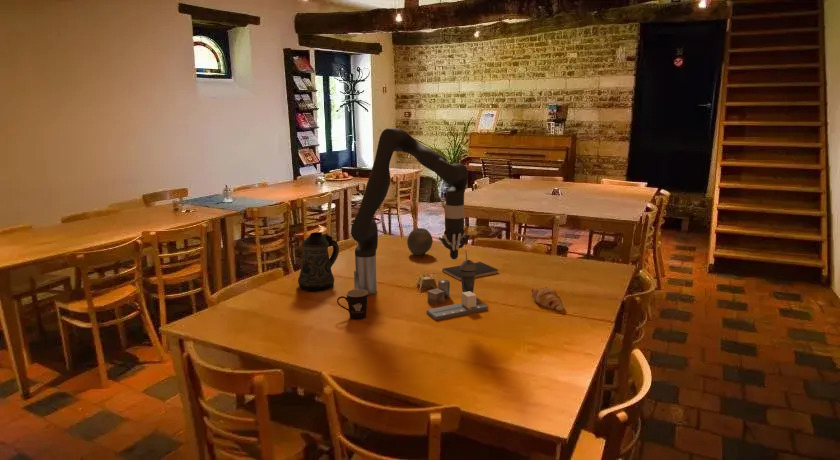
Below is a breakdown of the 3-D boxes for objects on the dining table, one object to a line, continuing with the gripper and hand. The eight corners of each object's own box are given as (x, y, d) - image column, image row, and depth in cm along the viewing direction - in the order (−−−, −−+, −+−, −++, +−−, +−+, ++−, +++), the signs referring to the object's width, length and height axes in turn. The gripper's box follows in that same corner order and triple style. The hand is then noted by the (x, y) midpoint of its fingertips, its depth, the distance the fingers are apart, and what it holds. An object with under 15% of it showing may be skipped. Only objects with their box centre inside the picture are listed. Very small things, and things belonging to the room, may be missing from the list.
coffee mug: (372, 314, 212) (372, 290, 209) (363, 322, 204) (362, 298, 201) (346, 310, 215) (345, 287, 213) (336, 318, 207) (335, 294, 205)
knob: (467, 308, 213) (467, 296, 212) (461, 304, 217) (461, 292, 216) (476, 306, 215) (476, 294, 213) (469, 302, 219) (469, 291, 218)
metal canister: (441, 299, 227) (441, 284, 225) (436, 295, 231) (436, 280, 230) (451, 297, 229) (451, 282, 227) (445, 294, 233) (446, 279, 232)
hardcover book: (498, 274, 262) (498, 269, 261) (459, 281, 251) (459, 277, 250) (479, 265, 275) (479, 261, 275) (442, 272, 264) (442, 268, 264)
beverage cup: (475, 297, 229) (476, 253, 224) (458, 296, 230) (459, 252, 226) (476, 291, 236) (477, 248, 231) (460, 290, 237) (461, 248, 233)
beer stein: (291, 289, 239) (287, 236, 233) (314, 276, 257) (312, 226, 251) (322, 294, 233) (319, 239, 227) (344, 280, 251) (342, 229, 245)
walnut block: (435, 305, 221) (435, 294, 220) (427, 302, 224) (427, 290, 223) (444, 302, 224) (444, 291, 223) (436, 299, 228) (436, 288, 226)
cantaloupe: (405, 258, 287) (404, 231, 283) (409, 251, 300) (409, 225, 297) (430, 259, 284) (430, 232, 281) (434, 252, 298) (434, 226, 294)
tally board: (435, 320, 205) (435, 316, 205) (426, 313, 212) (426, 309, 212) (487, 309, 216) (487, 306, 215) (477, 303, 223) (477, 299, 222)
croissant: (567, 319, 215) (576, 302, 214) (549, 312, 210) (558, 294, 210) (537, 300, 234) (545, 284, 233) (520, 293, 229) (528, 277, 229)
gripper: (464, 212, 210) (463, 254, 214) (435, 215, 204) (434, 258, 208) (474, 216, 203) (473, 259, 207) (444, 219, 198) (443, 263, 202)
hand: (453, 258), depth 208 cm, fingers closed
